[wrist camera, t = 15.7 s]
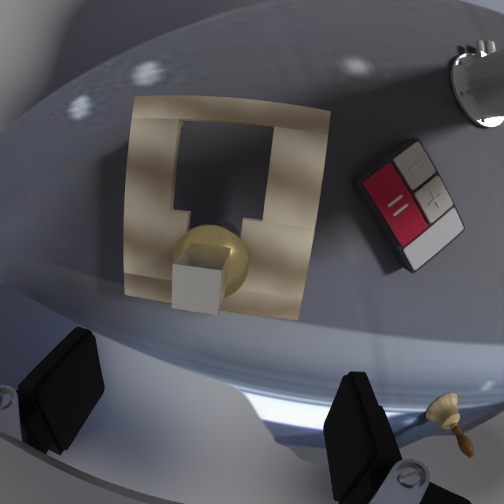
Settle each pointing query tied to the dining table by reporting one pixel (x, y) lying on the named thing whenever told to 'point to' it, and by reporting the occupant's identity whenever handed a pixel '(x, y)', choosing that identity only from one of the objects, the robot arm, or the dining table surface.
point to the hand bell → (450, 420)
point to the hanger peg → (208, 267)
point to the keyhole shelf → (253, 230)
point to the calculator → (410, 204)
